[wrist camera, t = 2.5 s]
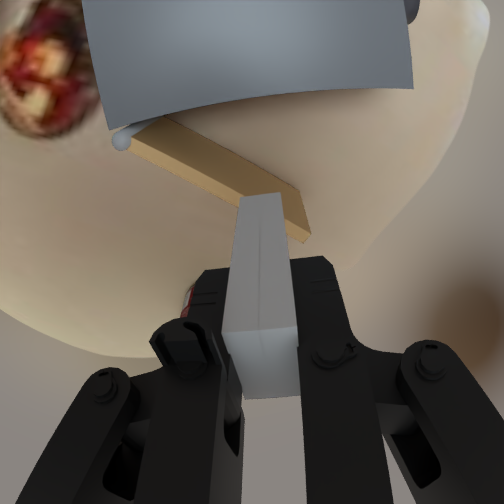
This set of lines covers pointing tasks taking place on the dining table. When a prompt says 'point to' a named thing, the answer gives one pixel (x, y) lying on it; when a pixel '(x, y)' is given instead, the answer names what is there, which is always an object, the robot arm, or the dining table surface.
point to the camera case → (241, 50)
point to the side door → (210, 167)
